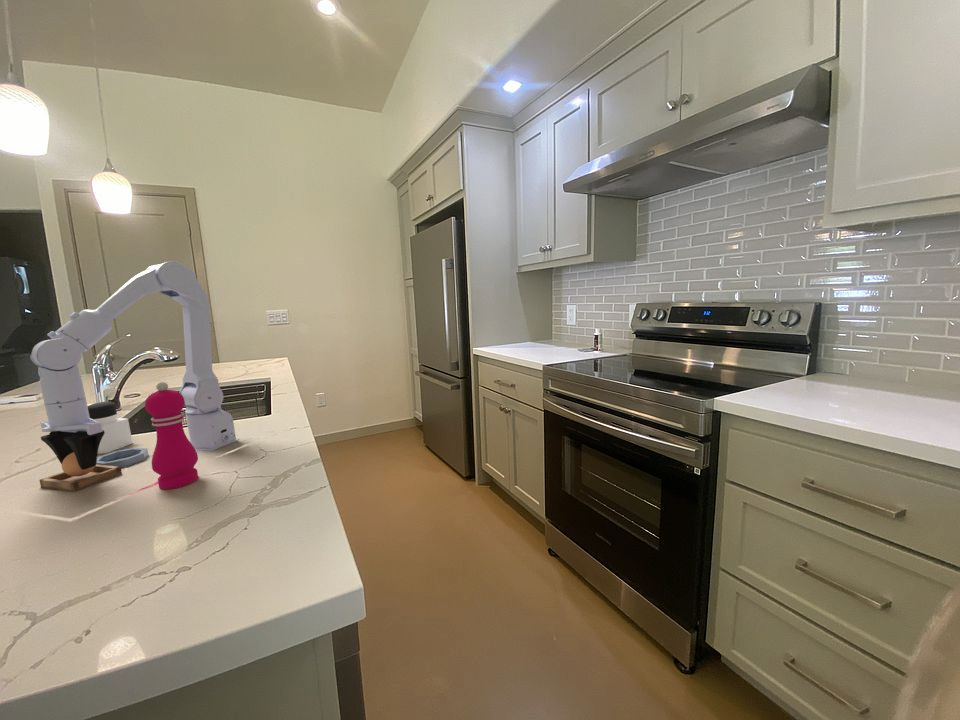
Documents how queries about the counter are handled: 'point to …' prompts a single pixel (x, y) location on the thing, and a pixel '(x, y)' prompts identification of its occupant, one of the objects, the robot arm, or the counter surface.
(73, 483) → the tray
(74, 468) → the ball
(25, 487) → the counter surface
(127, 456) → the ramekin
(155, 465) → the pepper mill
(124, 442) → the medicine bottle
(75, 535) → the counter surface
